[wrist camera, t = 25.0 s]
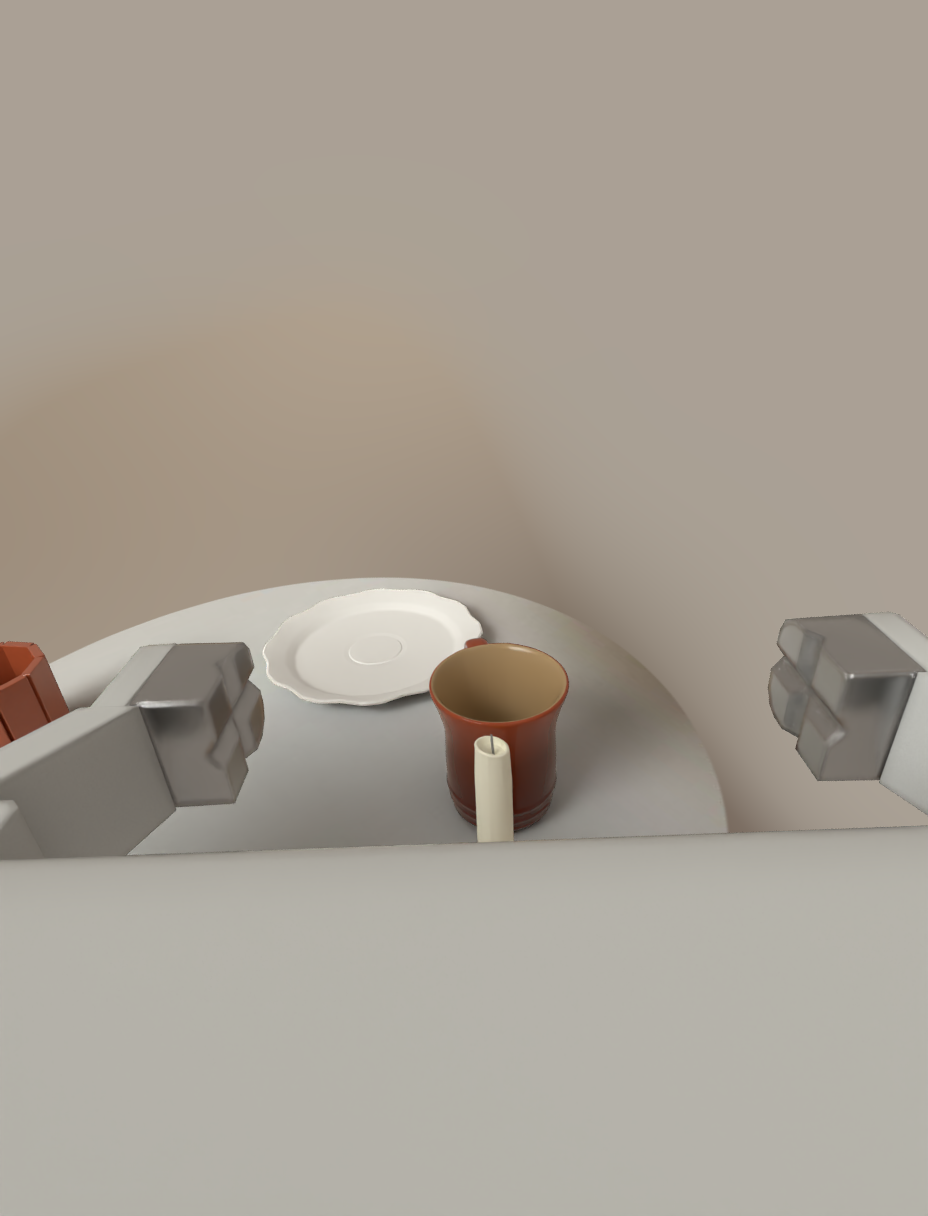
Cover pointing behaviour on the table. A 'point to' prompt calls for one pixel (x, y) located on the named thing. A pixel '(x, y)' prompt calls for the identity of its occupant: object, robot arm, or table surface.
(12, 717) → the holder cup
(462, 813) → the mug
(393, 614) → the plate
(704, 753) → the table surface
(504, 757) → the candle
